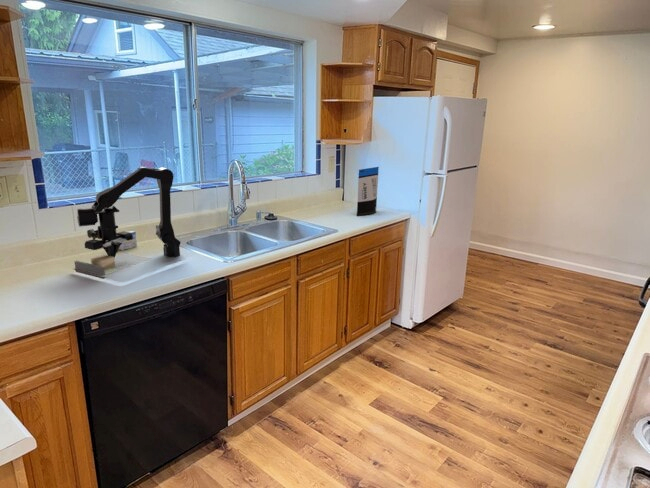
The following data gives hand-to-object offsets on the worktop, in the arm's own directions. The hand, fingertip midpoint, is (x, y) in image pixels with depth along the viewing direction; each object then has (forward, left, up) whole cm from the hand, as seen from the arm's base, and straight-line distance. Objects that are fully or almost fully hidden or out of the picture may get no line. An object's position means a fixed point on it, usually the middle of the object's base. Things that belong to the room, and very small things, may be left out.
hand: (112, 260), depth 183 cm
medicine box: (+14, -19, -3) cm, 24 cm away
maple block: (0, +5, -2) cm, 5 cm away
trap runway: (0, -1, -3) cm, 3 cm away
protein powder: (-52, -156, -3) cm, 165 cm away
